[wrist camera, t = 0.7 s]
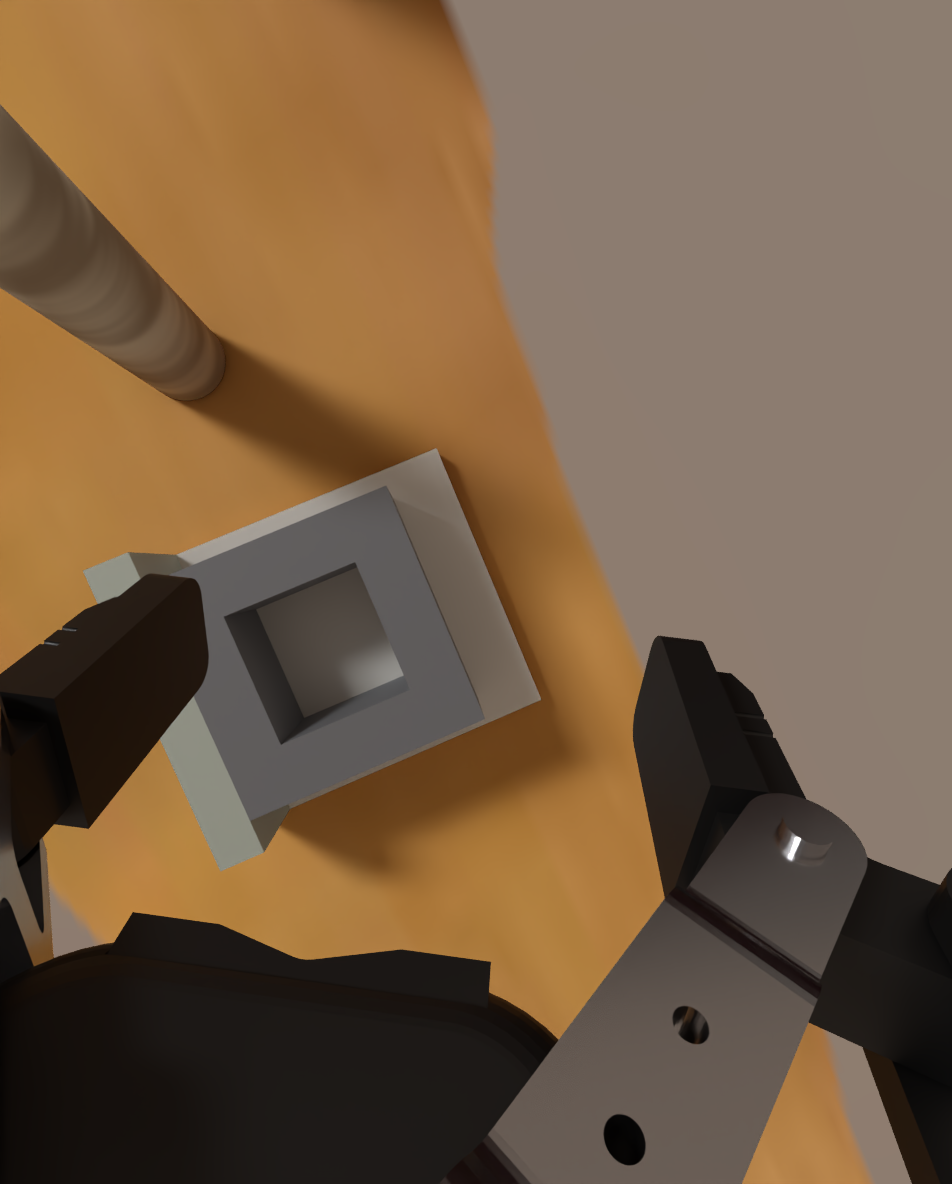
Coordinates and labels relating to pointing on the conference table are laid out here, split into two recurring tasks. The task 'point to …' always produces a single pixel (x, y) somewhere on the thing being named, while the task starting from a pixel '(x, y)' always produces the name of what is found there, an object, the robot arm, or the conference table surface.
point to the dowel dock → (332, 648)
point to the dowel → (94, 276)
